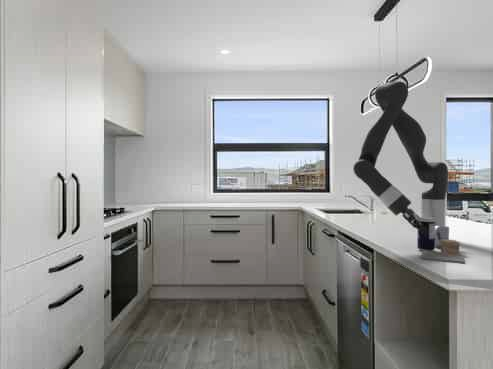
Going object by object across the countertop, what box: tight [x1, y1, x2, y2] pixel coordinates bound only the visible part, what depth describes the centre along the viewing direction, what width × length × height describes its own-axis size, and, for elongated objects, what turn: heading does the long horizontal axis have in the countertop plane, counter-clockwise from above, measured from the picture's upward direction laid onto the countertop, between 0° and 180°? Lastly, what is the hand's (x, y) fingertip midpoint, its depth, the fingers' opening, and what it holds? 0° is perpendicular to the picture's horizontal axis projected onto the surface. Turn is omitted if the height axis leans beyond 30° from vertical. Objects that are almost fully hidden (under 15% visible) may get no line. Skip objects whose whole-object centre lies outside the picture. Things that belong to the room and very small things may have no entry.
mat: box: [420, 250, 465, 264], centre depth 118 cm, size 12×12×1 cm
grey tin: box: [435, 225, 450, 250], centre depth 135 cm, size 5×5×8 cm
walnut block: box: [440, 239, 460, 254], centre depth 125 cm, size 4×4×4 cm
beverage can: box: [416, 216, 436, 252], centre depth 129 cm, size 6×6×12 cm
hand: (427, 232), depth 129 cm, fingers open, 8 cm apart
